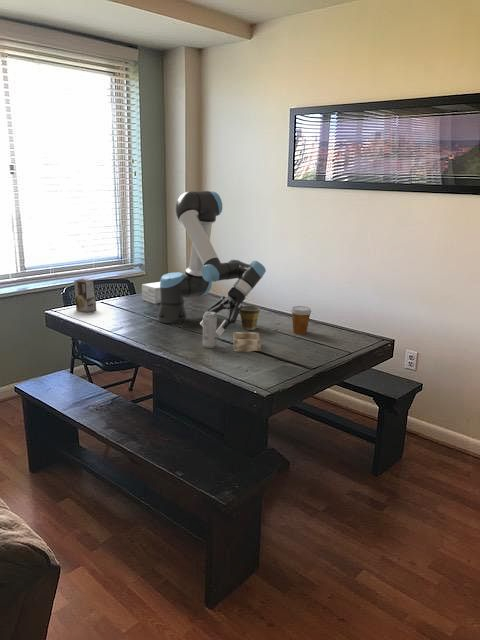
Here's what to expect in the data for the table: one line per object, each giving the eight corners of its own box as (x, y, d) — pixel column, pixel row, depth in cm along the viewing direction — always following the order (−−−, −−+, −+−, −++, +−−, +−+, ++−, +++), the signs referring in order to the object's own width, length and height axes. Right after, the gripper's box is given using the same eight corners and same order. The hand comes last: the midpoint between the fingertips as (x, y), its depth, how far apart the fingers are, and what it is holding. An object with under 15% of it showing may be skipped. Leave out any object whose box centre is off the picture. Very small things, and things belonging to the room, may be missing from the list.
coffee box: (96, 310, 282) (95, 280, 278) (87, 312, 277) (85, 282, 272) (85, 307, 287) (83, 278, 282) (75, 309, 281) (73, 280, 277)
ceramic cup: (263, 328, 258) (264, 308, 255) (249, 332, 251) (250, 311, 248) (243, 322, 266) (244, 303, 264) (230, 326, 259) (230, 306, 257)
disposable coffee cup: (311, 331, 255) (313, 307, 252) (307, 336, 247) (309, 311, 243) (292, 328, 258) (293, 304, 255) (287, 334, 249) (289, 309, 246)
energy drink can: (218, 347, 228) (218, 314, 224) (204, 348, 226) (204, 315, 222) (214, 343, 233) (215, 310, 229) (201, 344, 232) (201, 311, 228)
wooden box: (234, 351, 224) (234, 340, 223) (233, 343, 235) (233, 332, 233) (260, 351, 225) (260, 340, 223) (257, 343, 235) (258, 332, 234)
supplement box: (155, 304, 298) (154, 288, 295) (141, 299, 307) (141, 284, 304) (178, 299, 309) (178, 284, 306) (165, 295, 318) (165, 280, 315)
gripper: (260, 303, 223) (230, 342, 219) (229, 291, 243) (200, 327, 239) (250, 292, 219) (219, 332, 215) (219, 281, 239) (190, 317, 235)
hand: (209, 329), depth 227 cm, fingers open, 13 cm apart
